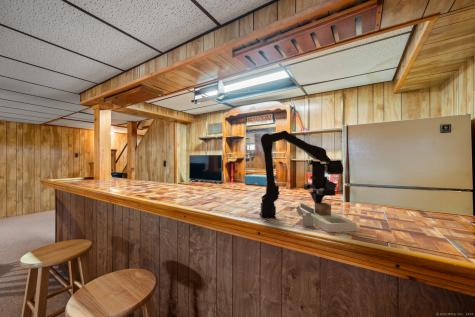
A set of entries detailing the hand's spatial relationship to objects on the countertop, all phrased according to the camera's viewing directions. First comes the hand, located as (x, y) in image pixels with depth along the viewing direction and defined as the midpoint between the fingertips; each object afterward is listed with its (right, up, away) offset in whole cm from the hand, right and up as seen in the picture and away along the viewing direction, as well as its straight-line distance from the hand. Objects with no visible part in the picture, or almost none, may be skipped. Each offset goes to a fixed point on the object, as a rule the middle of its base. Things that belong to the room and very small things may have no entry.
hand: (318, 207), depth 96 cm
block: (+1, -2, -4) cm, 5 cm away
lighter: (-10, -5, -10) cm, 15 cm away
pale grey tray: (0, -5, -4) cm, 6 cm away
